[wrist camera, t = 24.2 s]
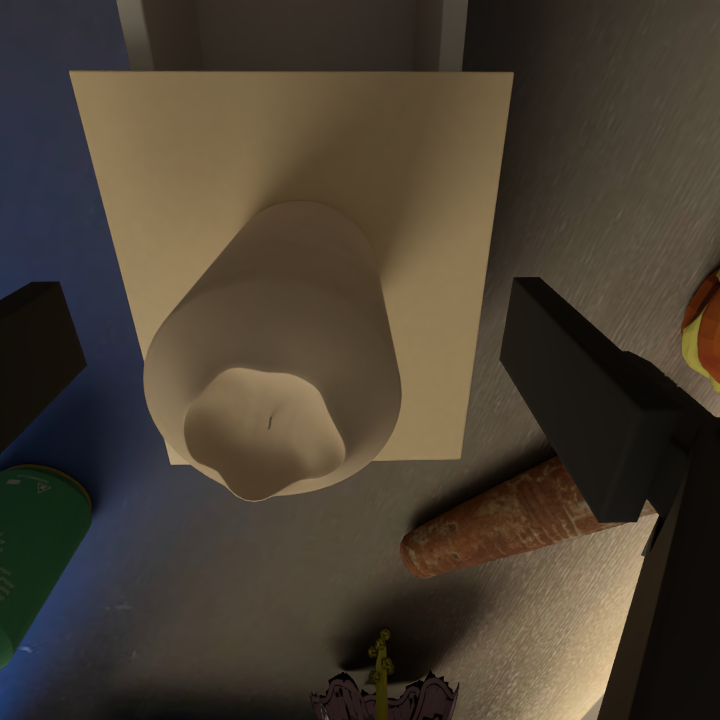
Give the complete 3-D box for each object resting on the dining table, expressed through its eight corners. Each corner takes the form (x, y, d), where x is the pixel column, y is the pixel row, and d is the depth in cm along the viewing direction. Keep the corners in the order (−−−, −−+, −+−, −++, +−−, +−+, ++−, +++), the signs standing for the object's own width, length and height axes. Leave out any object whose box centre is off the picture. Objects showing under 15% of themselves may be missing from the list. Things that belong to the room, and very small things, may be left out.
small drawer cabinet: (172, 83, 23) (67, 70, 14) (451, 84, 23) (514, 71, 14) (219, 363, 30) (170, 465, 22) (428, 360, 31) (460, 459, 22)
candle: (399, 229, 17) (460, 366, 8) (348, 355, 19) (352, 566, 10) (250, 174, 16) (131, 261, 7) (216, 315, 18) (98, 511, 9)
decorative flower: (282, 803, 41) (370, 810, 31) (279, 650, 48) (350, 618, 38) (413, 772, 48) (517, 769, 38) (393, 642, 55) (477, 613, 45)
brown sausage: (631, 467, 36) (677, 524, 31) (415, 557, 40) (425, 619, 35) (609, 411, 33) (655, 464, 28) (379, 514, 37) (385, 575, 33)
